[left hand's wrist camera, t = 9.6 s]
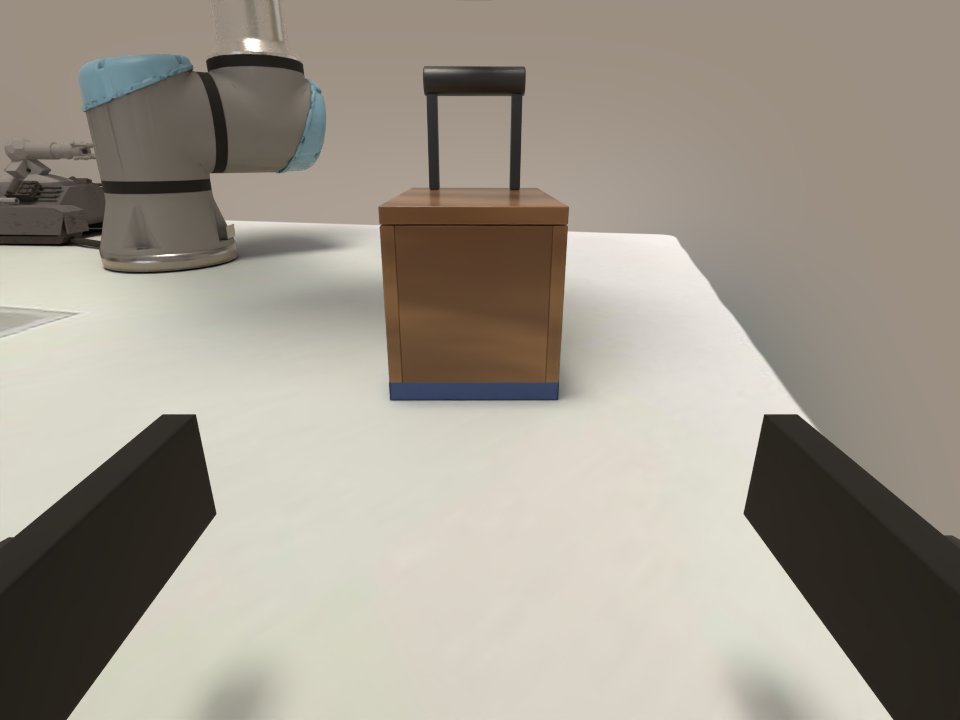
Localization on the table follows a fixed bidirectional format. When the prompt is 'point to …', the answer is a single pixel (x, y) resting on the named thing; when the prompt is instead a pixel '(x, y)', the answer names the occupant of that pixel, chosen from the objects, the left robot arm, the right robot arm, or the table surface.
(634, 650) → the table surface
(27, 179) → the toy
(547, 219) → the lid
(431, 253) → the chest
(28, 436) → the table surface
